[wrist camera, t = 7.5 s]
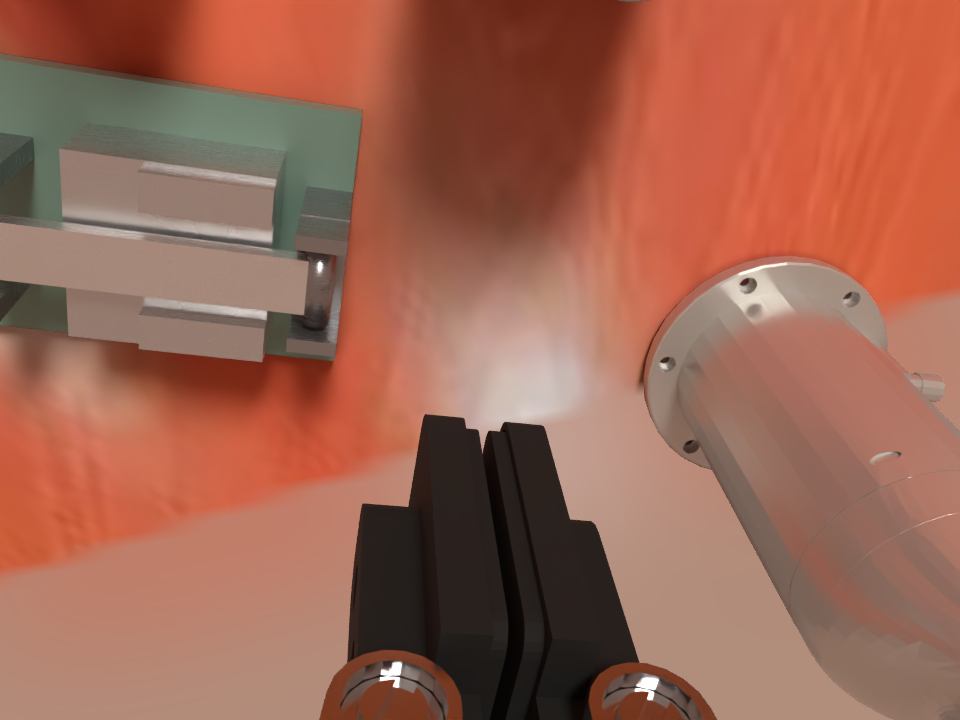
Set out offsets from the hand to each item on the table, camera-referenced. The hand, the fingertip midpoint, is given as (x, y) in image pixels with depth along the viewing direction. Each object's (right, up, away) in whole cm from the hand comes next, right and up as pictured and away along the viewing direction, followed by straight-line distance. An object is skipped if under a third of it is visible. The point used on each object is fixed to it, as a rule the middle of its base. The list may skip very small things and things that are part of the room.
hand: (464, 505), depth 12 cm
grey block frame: (-13, +8, +26) cm, 31 cm away
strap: (-12, +6, +23) cm, 27 cm away
